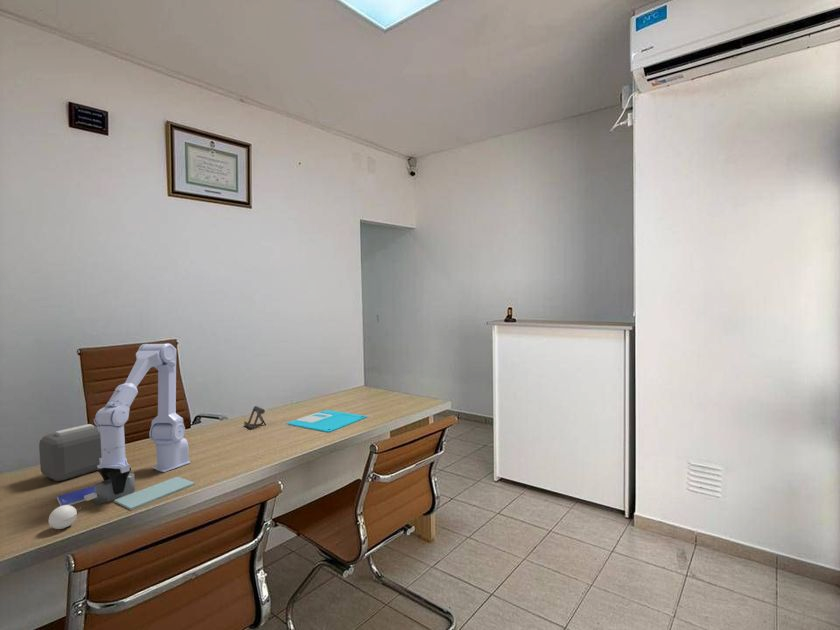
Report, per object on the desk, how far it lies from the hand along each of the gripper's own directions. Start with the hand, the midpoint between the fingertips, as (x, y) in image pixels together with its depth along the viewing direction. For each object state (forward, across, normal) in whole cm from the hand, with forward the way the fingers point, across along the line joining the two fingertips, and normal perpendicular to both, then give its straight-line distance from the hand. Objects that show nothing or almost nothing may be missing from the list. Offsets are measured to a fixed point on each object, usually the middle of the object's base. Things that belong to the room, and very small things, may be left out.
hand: (115, 491), depth 123 cm
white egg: (+2, +8, -14) cm, 16 cm away
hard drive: (+2, -9, -4) cm, 10 cm away
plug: (+1, 0, -1) cm, 2 cm away
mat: (+1, +9, +7) cm, 11 cm away
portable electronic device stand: (+2, -23, +66) cm, 70 cm away
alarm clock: (+2, -33, +2) cm, 33 cm away
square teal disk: (+2, +2, +87) cm, 87 cm away
